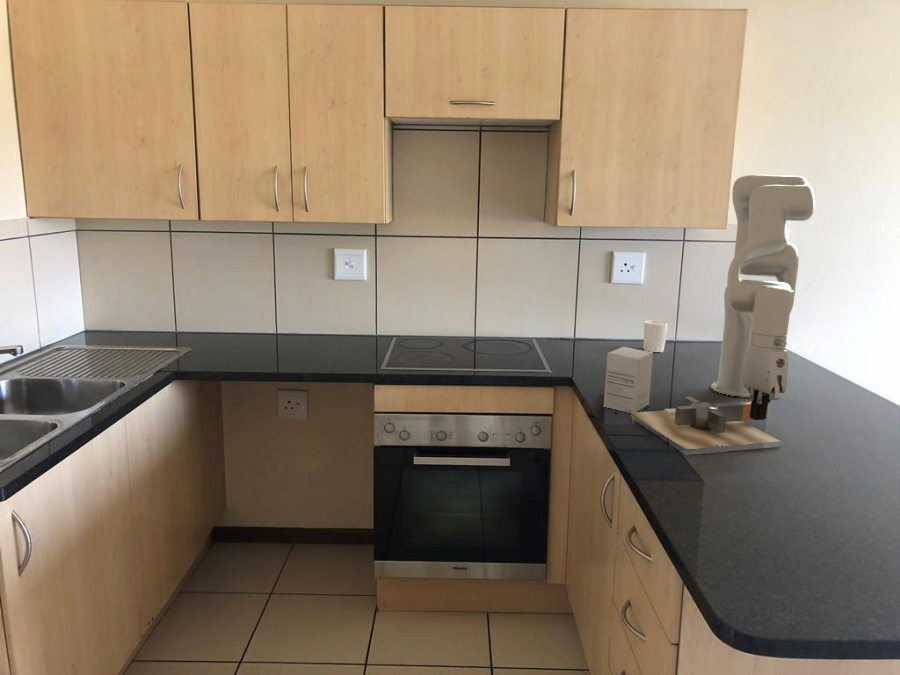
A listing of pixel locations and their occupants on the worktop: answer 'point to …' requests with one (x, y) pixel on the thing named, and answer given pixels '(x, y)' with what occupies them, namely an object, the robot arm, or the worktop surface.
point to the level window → (670, 411)
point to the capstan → (711, 414)
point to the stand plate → (702, 432)
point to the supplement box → (628, 379)
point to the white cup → (655, 335)
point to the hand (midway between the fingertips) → (757, 418)
